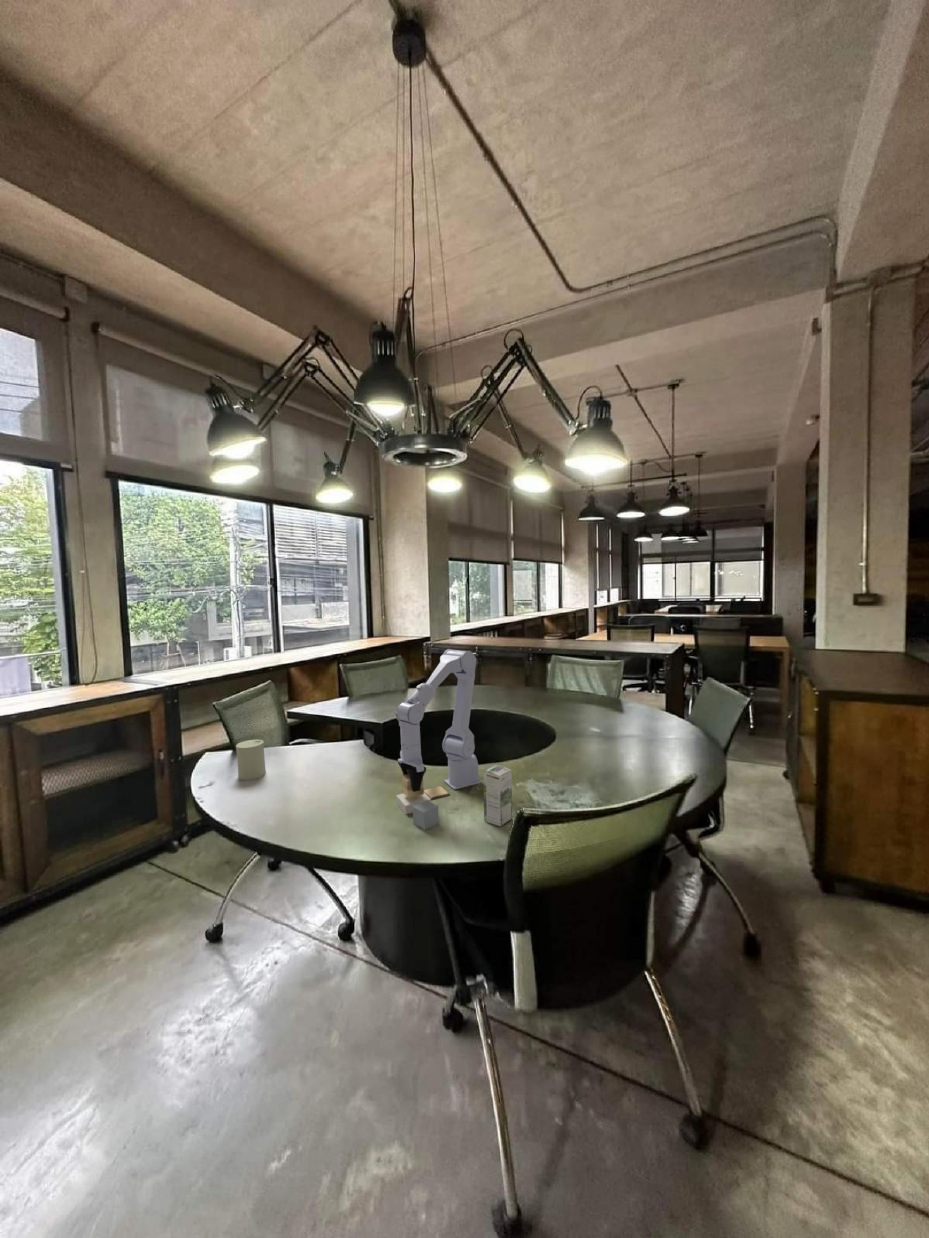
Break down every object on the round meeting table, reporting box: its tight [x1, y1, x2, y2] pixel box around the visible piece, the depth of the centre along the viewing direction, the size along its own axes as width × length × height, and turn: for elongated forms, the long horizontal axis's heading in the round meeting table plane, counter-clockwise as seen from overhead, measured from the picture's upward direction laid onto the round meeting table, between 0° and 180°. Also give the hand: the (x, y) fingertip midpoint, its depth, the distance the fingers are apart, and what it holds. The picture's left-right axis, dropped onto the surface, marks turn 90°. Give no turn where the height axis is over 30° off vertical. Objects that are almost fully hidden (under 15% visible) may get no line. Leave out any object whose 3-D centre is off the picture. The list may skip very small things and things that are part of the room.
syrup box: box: [482, 765, 513, 828], centre depth 136 cm, size 6×6×14 cm
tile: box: [424, 785, 451, 801], centre depth 155 cm, size 7×7×1 cm
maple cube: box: [401, 774, 425, 798], centre depth 147 cm, size 5×5×5 cm
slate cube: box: [412, 801, 440, 831], centre depth 136 cm, size 5×5×5 cm
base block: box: [395, 792, 432, 815], centre depth 147 cm, size 8×8×3 cm
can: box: [235, 738, 267, 781], centre depth 175 cm, size 9×9×12 cm
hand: (412, 787), depth 147 cm, fingers closed on maple cube, 5 cm apart
